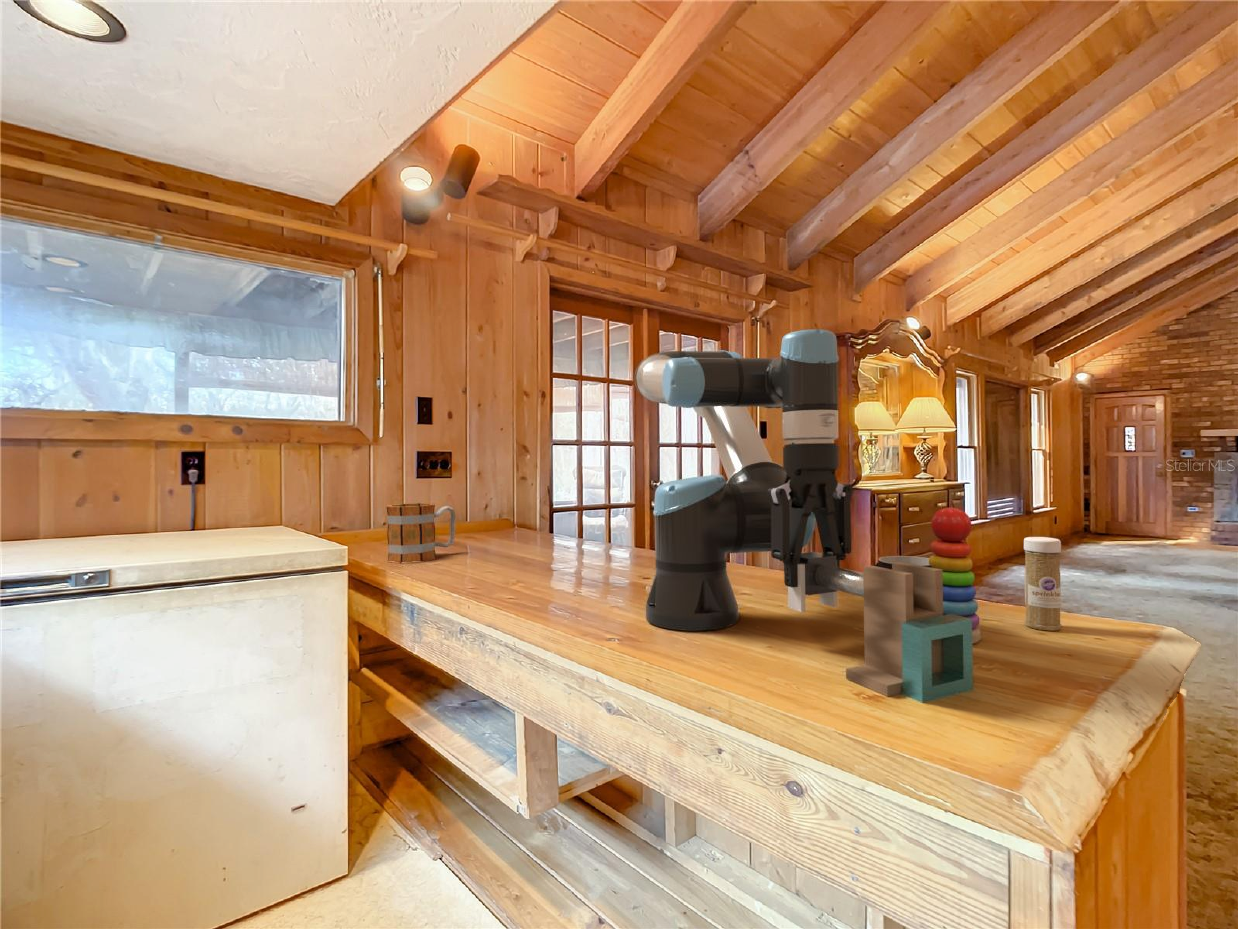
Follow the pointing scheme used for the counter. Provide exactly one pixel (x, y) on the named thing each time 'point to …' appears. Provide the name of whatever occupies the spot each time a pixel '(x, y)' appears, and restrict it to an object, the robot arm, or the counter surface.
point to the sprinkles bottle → (1042, 583)
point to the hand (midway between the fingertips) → (812, 606)
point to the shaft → (830, 576)
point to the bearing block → (895, 621)
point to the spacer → (919, 657)
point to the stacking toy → (955, 564)
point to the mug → (415, 531)
